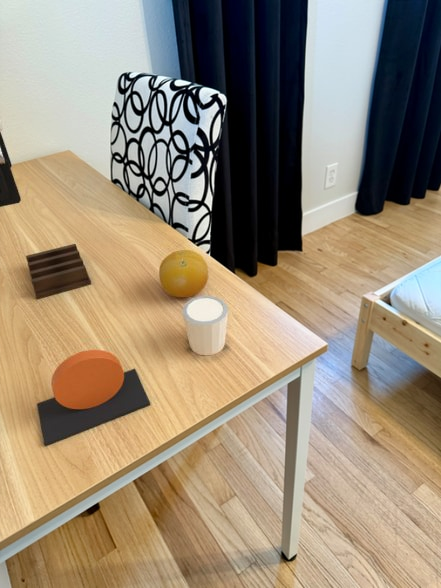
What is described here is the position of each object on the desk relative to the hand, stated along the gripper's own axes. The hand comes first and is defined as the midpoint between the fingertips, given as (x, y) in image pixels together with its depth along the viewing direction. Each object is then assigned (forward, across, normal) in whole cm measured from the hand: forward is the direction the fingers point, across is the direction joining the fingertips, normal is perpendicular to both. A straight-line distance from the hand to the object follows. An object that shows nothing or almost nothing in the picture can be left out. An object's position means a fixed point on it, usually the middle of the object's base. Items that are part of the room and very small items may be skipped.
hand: (0, 185), depth 44 cm
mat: (+30, +6, +2) cm, 31 cm away
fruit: (+31, -12, +23) cm, 40 cm away
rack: (+30, -28, +3) cm, 41 cm away
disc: (+30, +6, +2) cm, 30 cm away
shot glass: (+31, +2, +21) cm, 37 cm away
